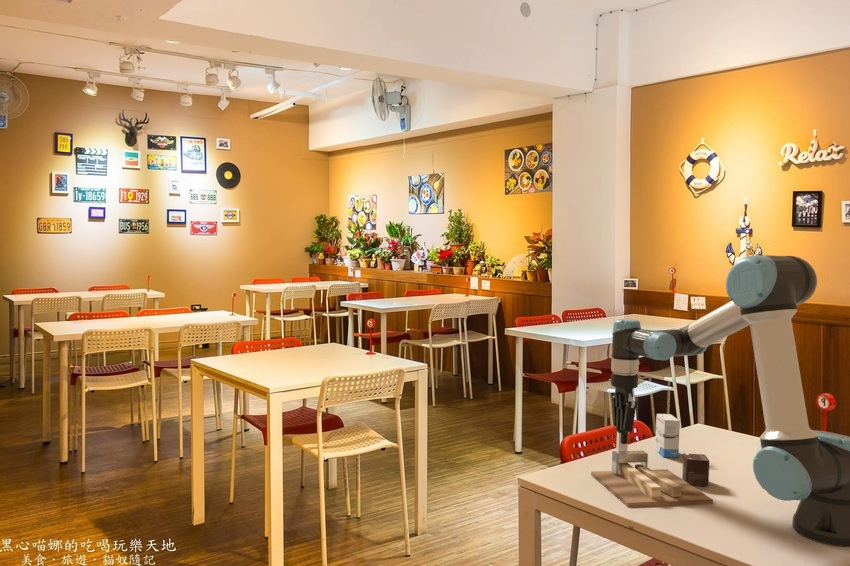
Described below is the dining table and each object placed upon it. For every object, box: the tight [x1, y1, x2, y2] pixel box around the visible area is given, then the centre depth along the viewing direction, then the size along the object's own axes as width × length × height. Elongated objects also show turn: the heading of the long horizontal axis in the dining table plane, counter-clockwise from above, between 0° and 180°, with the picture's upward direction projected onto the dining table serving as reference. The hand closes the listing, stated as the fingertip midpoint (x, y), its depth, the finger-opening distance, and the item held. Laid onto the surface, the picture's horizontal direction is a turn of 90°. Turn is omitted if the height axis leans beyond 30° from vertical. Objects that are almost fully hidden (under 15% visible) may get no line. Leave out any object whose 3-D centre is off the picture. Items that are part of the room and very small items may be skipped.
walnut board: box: [590, 469, 714, 508], centre depth 190 cm, size 24×23×1 cm
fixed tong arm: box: [618, 463, 661, 499], centre depth 190 cm, size 22×2×3 cm, turn 9°
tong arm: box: [634, 463, 682, 497], centre depth 189 cm, size 18×2×3 cm, turn 16°
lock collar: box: [611, 450, 649, 475], centre depth 199 cm, size 3×9×6 cm, turn 99°
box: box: [681, 453, 710, 487], centre depth 196 cm, size 6×6×7 cm
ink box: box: [654, 413, 681, 458], centre depth 222 cm, size 8×5×12 cm, turn 179°
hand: (621, 453), depth 204 cm, fingers closed
